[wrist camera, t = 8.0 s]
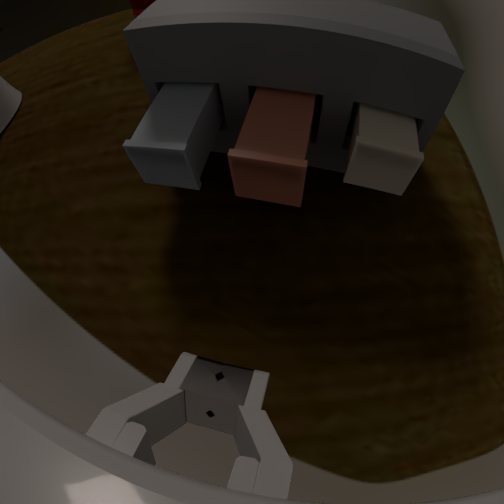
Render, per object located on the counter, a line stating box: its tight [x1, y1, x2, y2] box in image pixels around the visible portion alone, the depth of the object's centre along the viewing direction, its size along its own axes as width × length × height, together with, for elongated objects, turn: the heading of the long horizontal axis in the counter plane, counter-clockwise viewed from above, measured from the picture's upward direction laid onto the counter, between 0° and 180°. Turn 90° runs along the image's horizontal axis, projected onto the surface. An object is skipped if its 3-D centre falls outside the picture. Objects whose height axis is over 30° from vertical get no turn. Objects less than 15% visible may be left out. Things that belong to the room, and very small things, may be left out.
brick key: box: [227, 86, 316, 207], centre depth 20 cm, size 8×4×4 cm, turn 167°
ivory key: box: [343, 102, 424, 196], centre depth 20 cm, size 8×4×4 cm, turn 167°
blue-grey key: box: [123, 82, 225, 190], centre depth 21 cm, size 8×4×4 cm, turn 167°
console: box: [123, 0, 465, 173], centre depth 21 cm, size 7×21×13 cm, turn 77°
